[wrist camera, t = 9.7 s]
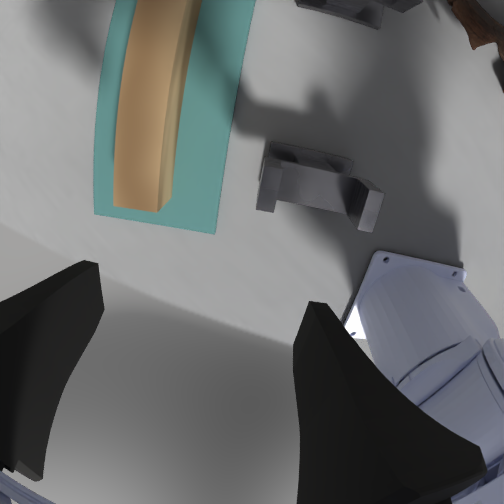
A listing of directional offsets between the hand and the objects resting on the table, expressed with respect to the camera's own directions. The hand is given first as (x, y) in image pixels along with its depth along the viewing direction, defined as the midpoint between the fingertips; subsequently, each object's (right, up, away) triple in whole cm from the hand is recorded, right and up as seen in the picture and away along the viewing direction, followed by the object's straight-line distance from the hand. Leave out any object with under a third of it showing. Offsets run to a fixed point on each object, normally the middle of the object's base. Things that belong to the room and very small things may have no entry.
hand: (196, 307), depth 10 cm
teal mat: (-3, +13, +5) cm, 15 cm away
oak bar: (-3, +13, +4) cm, 14 cm away
